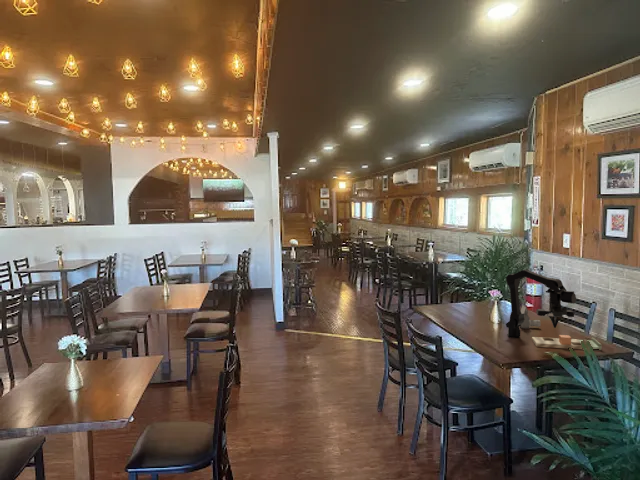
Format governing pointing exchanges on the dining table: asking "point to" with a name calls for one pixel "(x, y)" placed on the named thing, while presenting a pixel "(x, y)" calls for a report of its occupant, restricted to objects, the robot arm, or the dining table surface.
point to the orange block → (565, 339)
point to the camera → (528, 319)
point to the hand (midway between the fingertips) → (554, 327)
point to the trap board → (556, 344)
